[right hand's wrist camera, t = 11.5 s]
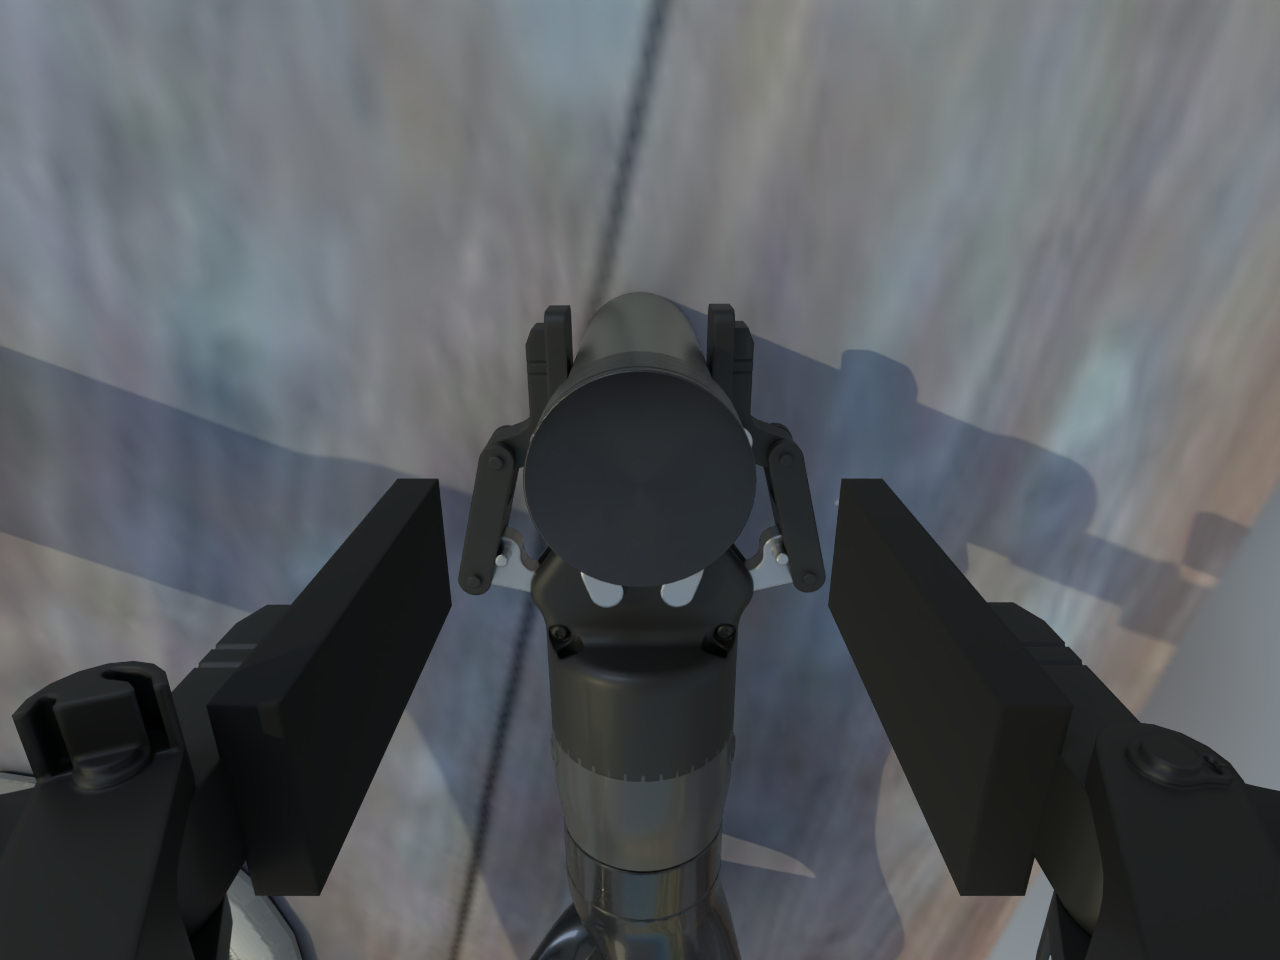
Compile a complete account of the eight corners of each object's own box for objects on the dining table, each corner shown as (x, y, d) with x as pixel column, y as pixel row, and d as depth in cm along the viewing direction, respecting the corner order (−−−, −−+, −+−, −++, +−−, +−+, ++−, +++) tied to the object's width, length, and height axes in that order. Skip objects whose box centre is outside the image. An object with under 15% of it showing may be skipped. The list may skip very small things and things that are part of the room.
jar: (595, 412, 33) (560, 582, 18) (573, 303, 31) (516, 396, 17) (703, 394, 32) (753, 553, 18) (687, 283, 31) (728, 361, 16)
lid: (559, 562, 20) (550, 602, 18) (514, 370, 18) (498, 392, 16) (755, 531, 20) (768, 569, 18) (730, 333, 18) (741, 350, 16)
